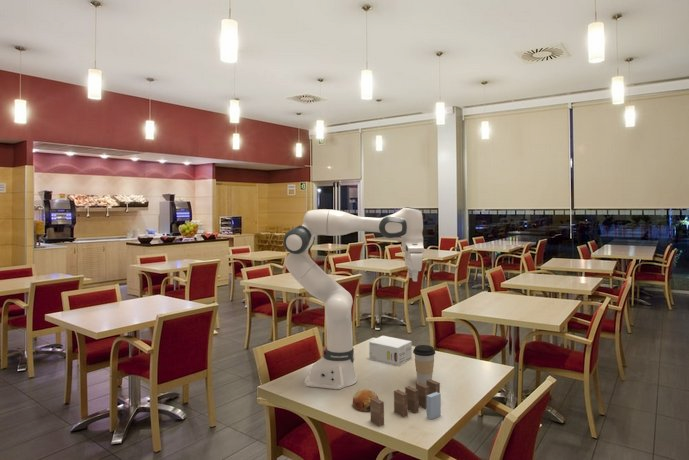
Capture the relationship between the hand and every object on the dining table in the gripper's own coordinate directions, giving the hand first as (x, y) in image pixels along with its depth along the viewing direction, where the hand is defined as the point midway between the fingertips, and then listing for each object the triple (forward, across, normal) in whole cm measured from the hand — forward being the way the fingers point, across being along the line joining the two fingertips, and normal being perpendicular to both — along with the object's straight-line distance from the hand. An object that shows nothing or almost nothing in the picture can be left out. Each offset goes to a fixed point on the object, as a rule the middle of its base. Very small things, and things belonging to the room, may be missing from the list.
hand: (412, 279), depth 186 cm
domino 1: (+45, +32, -18) cm, 58 cm away
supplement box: (+45, -33, -6) cm, 56 cm away
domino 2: (+45, +26, -9) cm, 53 cm away
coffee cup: (+45, -3, +5) cm, 45 cm away
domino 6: (+45, +28, +2) cm, 53 cm away
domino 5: (+45, +17, +4) cm, 48 cm away
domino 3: (+45, +23, -5) cm, 50 cm away
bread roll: (+45, +19, -22) cm, 53 cm away
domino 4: (+45, +20, 0) cm, 49 cm away
